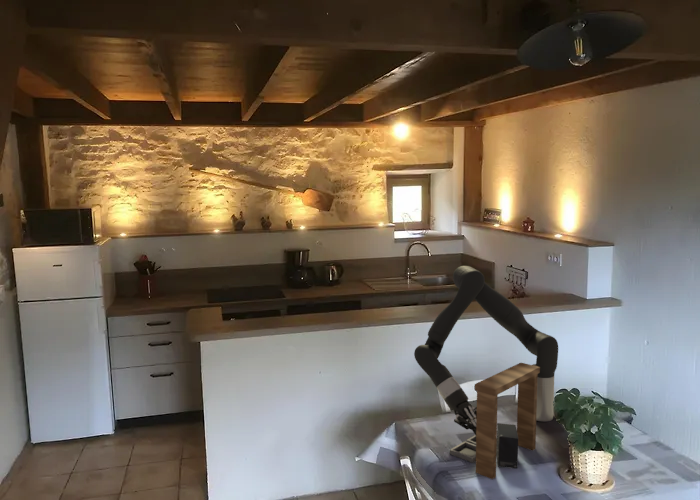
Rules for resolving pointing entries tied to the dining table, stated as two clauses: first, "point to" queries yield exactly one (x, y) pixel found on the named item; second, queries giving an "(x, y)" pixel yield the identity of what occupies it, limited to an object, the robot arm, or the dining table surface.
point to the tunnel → (488, 413)
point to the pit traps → (466, 450)
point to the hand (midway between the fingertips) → (481, 437)
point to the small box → (507, 445)
